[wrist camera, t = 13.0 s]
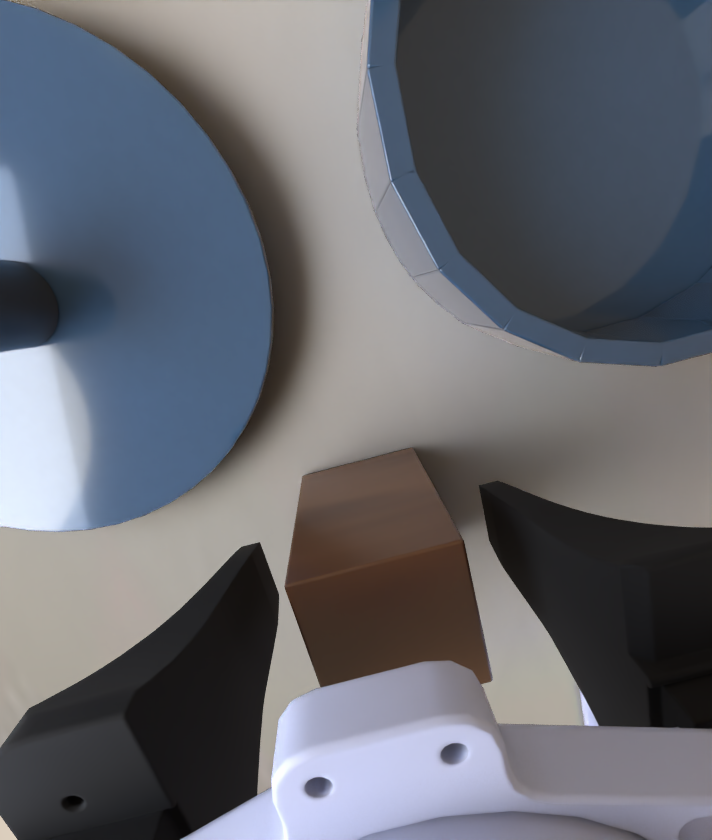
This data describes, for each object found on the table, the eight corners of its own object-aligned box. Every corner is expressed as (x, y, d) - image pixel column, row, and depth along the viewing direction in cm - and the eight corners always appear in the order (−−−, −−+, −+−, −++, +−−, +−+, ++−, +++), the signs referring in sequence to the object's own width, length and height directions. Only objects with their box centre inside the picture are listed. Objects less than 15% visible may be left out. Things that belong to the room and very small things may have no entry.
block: (435, 543, 16) (493, 682, 10) (332, 570, 16) (332, 722, 10) (412, 446, 15) (464, 539, 9) (301, 475, 15) (283, 586, 9)
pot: (800, 290, 14) (969, 286, 10) (412, 391, 14) (440, 424, 11) (821, -258, 10) (1097, -571, 7) (300, -110, 11) (283, -331, 7)
